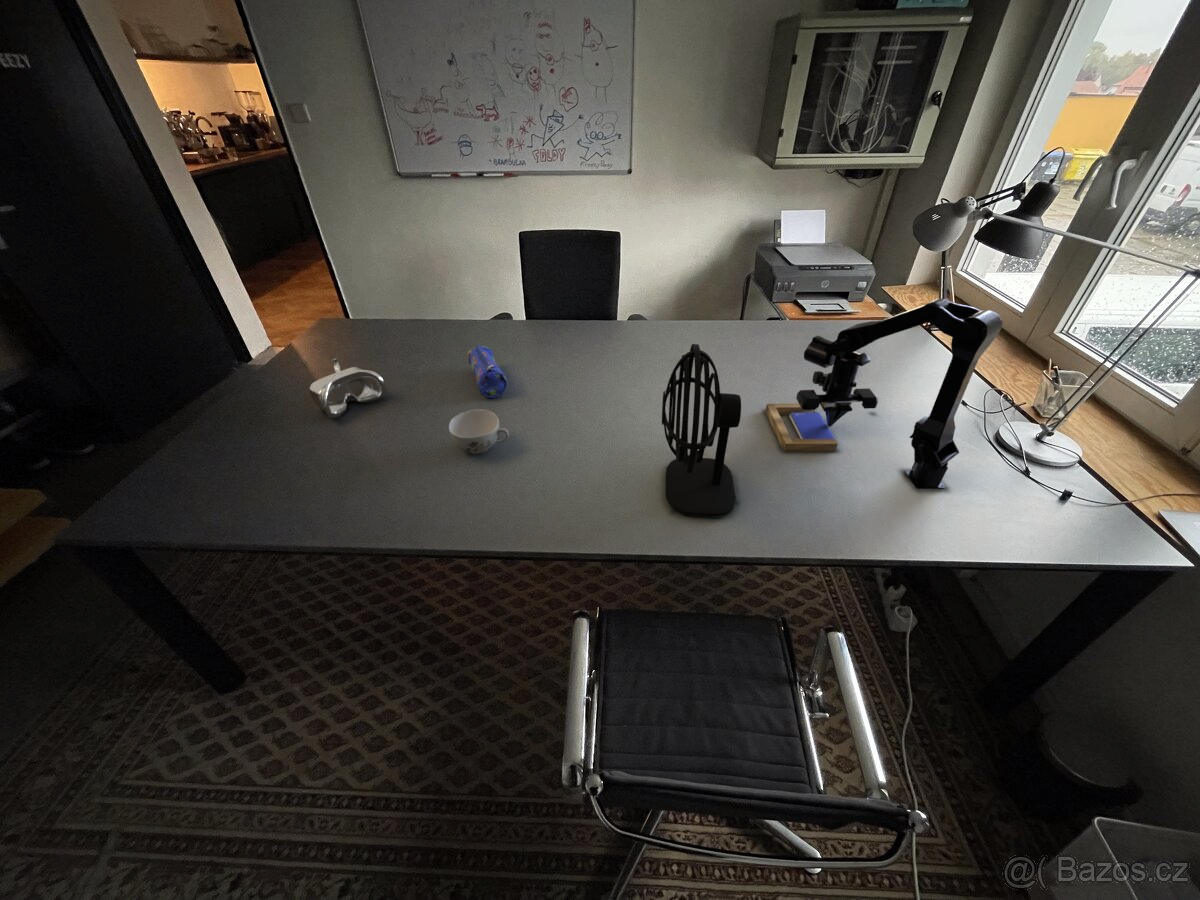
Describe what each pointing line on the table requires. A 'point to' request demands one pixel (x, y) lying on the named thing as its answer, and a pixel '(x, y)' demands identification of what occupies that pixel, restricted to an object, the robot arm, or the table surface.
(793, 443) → the dock
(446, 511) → the table surface
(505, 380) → the pencil case
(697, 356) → the desk fan
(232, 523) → the table surface
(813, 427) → the hard drive
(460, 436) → the teacup
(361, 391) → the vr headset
